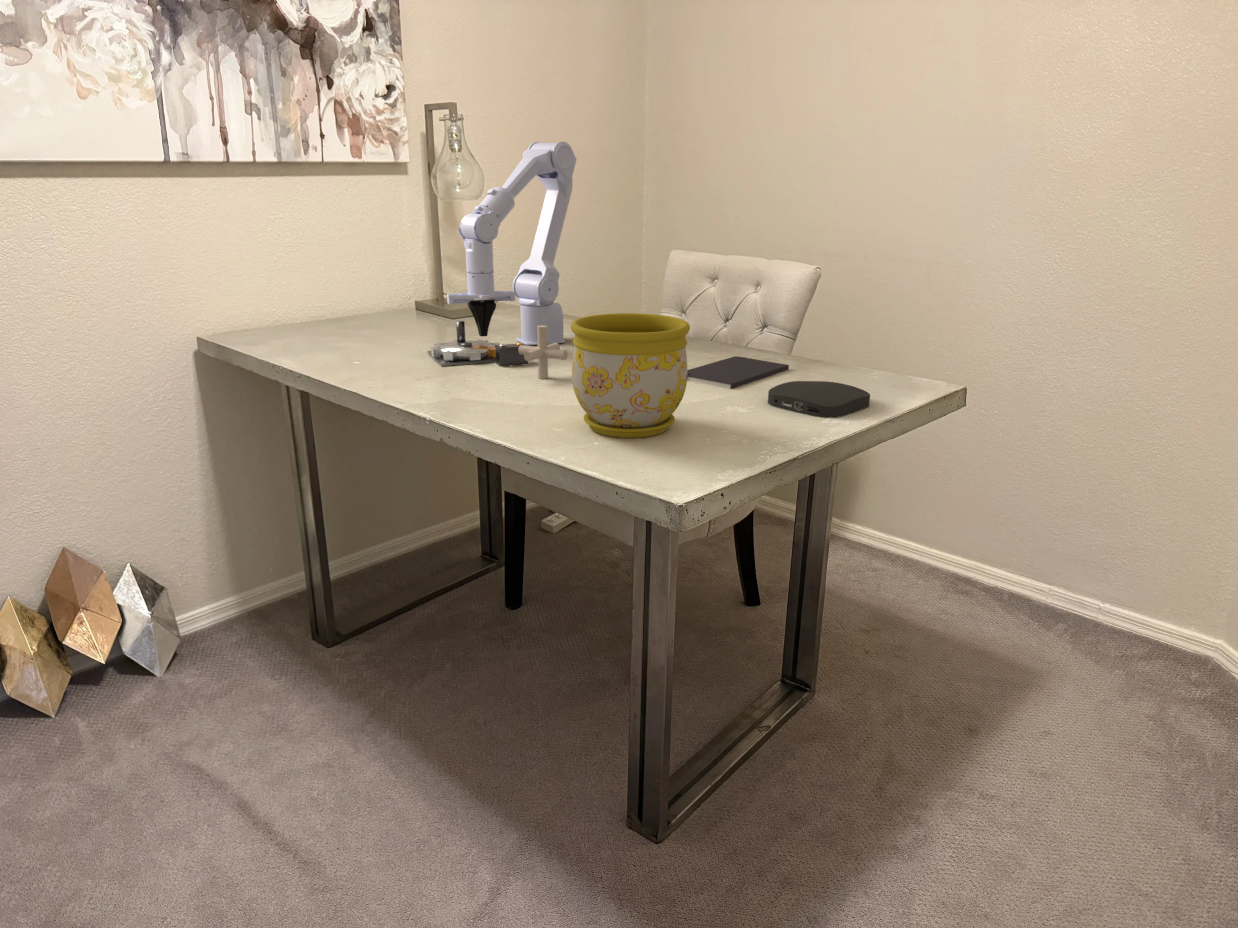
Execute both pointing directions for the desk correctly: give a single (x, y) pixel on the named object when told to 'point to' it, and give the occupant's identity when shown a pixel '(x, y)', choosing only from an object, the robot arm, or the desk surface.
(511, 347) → the two-button control panel
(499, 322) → the desk surface
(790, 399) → the media streaming box
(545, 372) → the pipe connector
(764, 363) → the notebook
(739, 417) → the desk surface
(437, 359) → the plate
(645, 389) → the flowerpot
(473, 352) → the sprocket
